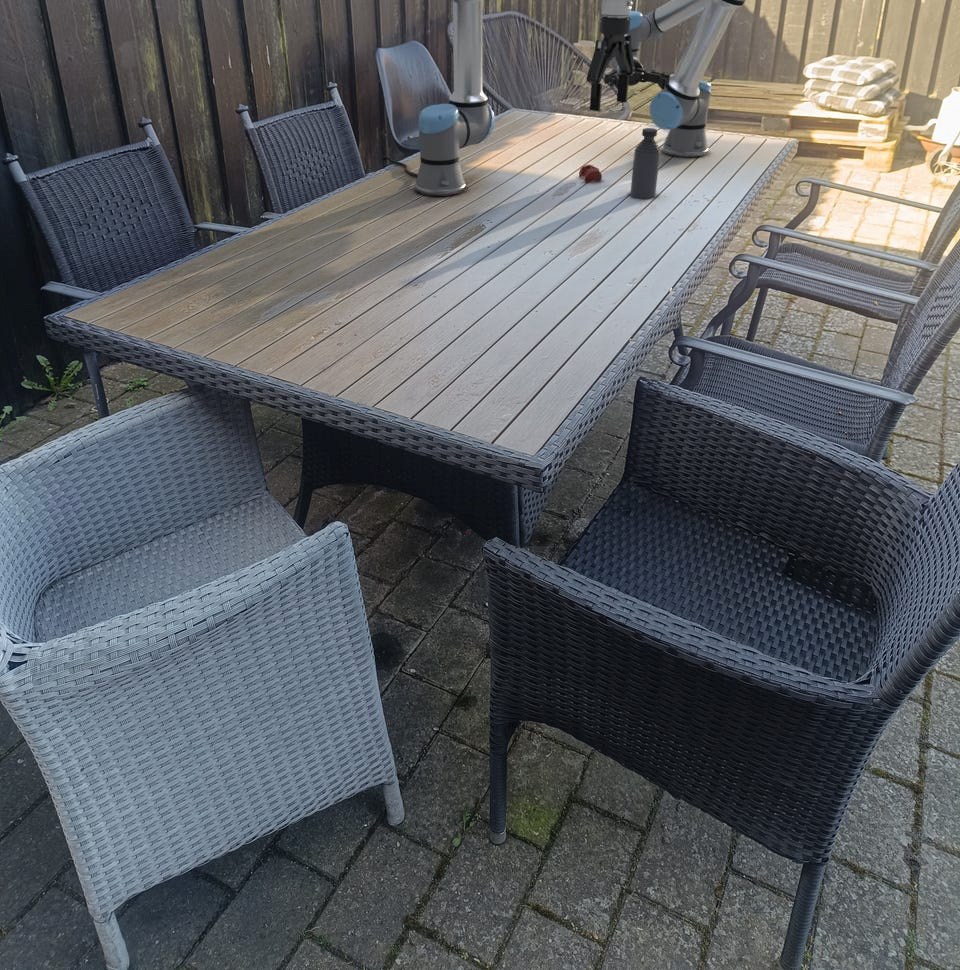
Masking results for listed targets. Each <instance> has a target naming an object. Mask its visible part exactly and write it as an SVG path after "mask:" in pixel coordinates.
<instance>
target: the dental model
mask: <svg viewBox="0 0 960 970" xmlns="http://www.w3.org/2000/svg"><path fill="white" fill-rule="evenodd" d="M578 177H579V178H583V177H584V178H583V181H584V182H587V183H588V182H598V181H602V180H603V179H602V178H603V176H602V173H601V171H600V169H599V167H595V166H594V165H593V164H584V165H582V166H581V167H580V169H579V172H578Z"/></svg>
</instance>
